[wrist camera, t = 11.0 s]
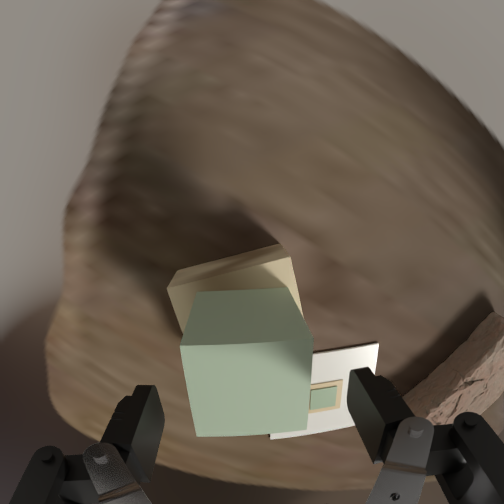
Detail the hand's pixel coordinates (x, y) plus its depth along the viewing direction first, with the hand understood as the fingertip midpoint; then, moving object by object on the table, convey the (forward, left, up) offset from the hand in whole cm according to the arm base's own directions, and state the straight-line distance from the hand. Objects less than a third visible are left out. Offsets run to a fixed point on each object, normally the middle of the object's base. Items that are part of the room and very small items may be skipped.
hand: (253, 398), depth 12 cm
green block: (0, 0, -6) cm, 6 cm away
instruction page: (-6, +9, -10) cm, 14 cm away
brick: (-20, +12, -10) cm, 25 cm away
